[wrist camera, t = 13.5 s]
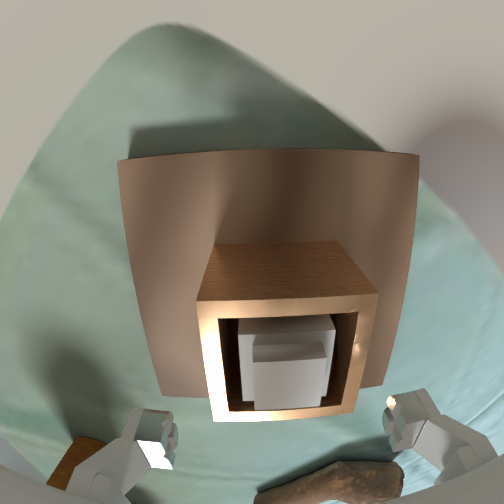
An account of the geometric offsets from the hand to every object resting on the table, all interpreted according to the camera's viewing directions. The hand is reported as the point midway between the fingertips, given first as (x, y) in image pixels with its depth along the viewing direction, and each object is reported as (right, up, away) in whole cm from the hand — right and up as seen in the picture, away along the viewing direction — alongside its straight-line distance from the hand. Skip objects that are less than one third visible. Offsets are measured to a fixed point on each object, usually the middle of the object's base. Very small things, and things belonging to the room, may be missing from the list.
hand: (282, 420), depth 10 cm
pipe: (+7, -20, +18) cm, 28 cm away
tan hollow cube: (0, +4, +7) cm, 8 cm away
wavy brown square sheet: (0, +4, +9) cm, 10 cm away
